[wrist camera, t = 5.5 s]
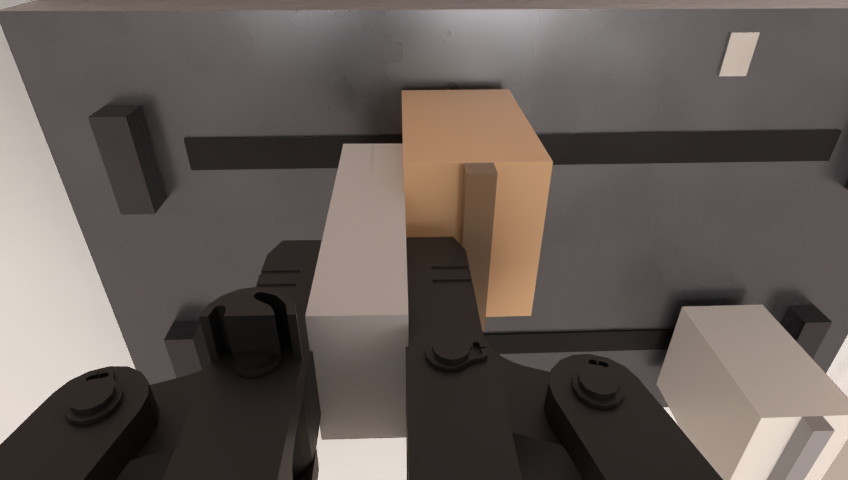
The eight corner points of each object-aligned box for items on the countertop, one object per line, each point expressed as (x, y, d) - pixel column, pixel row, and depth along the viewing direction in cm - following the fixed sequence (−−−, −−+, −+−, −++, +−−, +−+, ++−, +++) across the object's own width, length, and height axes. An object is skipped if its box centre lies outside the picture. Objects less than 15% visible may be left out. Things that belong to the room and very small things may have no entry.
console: (39, -1, 16) (-31, 17, 13) (966, -3, 17) (1069, 13, 14) (174, 387, 24) (147, 444, 21) (781, 368, 25) (824, 421, 23)
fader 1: (401, 90, 15) (404, 174, 10) (508, 89, 15) (559, 171, 10) (403, 215, 17) (406, 333, 12) (498, 214, 17) (535, 329, 12)
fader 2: (681, 306, 19) (771, 432, 15) (762, 304, 20) (876, 428, 15) (656, 384, 22) (727, 515, 17) (728, 381, 22) (820, 511, 17)
